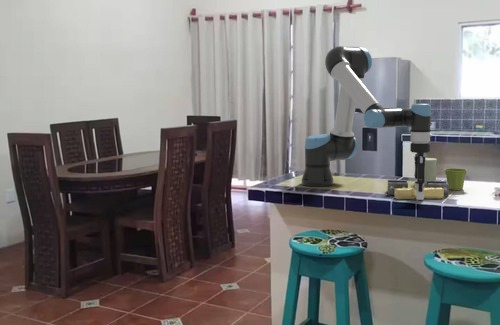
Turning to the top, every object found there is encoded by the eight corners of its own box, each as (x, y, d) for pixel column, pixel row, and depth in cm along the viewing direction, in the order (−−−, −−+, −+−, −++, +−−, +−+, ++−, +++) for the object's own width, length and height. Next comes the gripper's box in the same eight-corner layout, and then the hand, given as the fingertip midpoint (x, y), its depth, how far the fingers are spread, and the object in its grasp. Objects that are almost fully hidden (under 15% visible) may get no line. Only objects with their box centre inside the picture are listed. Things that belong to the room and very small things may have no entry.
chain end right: (428, 195, 211) (428, 184, 210) (426, 192, 219) (426, 180, 218) (448, 196, 209) (449, 184, 208) (445, 192, 217) (446, 181, 216)
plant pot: (440, 187, 229) (441, 168, 228) (461, 187, 229) (462, 168, 228) (448, 191, 220) (448, 171, 219) (470, 191, 220) (471, 171, 218)
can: (414, 181, 246) (415, 156, 244) (434, 181, 244) (435, 156, 242) (416, 184, 237) (417, 159, 235) (437, 185, 235) (438, 159, 233)
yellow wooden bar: (396, 199, 206) (397, 190, 205) (394, 198, 209) (394, 188, 209) (443, 198, 206) (443, 189, 206) (440, 197, 210) (440, 187, 209)
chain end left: (388, 194, 214) (388, 183, 214) (387, 191, 223) (387, 179, 222) (407, 195, 212) (408, 183, 212) (406, 191, 221) (406, 180, 220)
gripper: (433, 145, 193) (431, 202, 196) (427, 139, 215) (425, 192, 217) (412, 145, 195) (411, 202, 198) (408, 139, 216) (407, 191, 219)
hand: (418, 196), depth 208 cm, fingers open, 10 cm apart
